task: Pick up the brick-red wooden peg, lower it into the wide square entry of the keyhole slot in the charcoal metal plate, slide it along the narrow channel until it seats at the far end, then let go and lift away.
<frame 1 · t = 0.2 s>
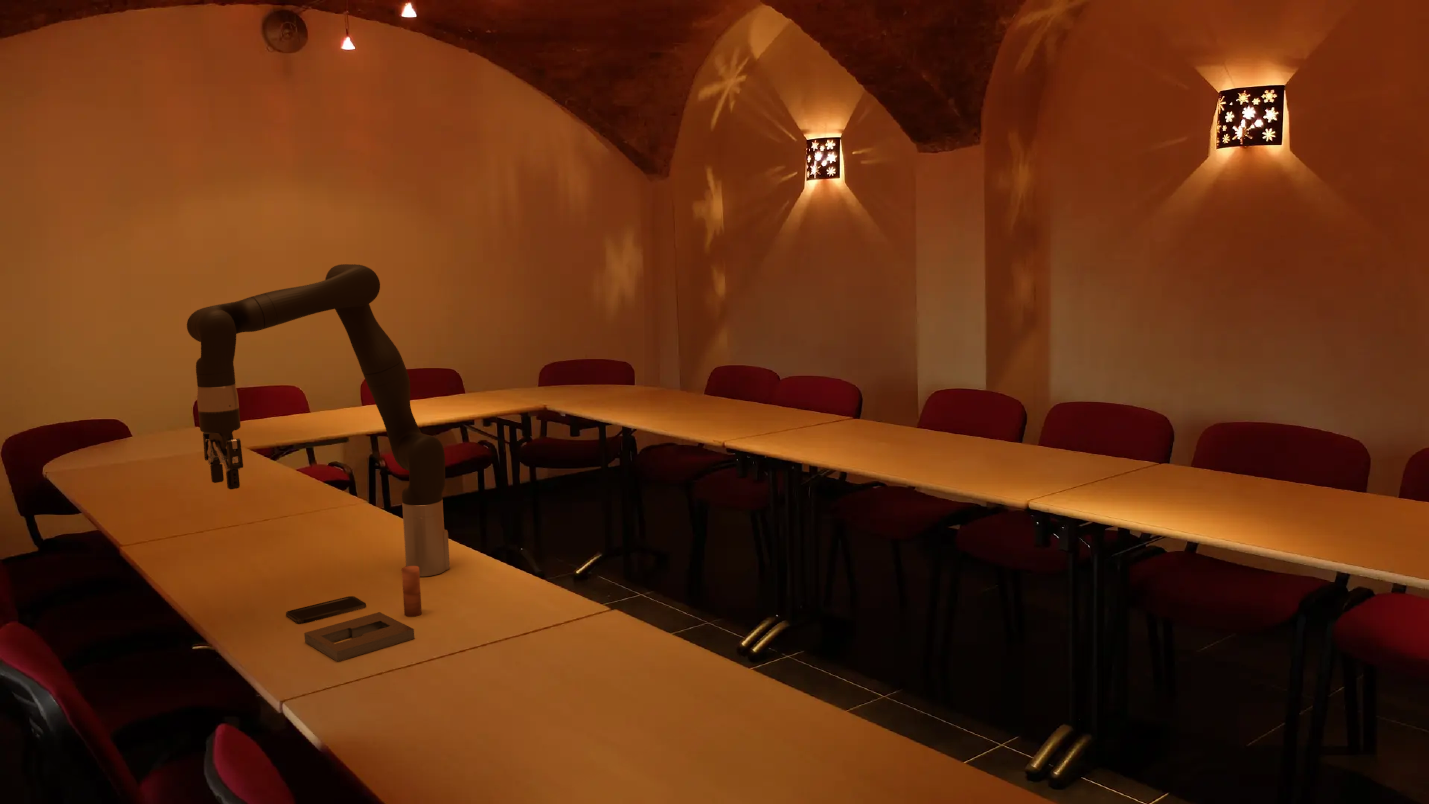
hand: (225, 485, 219), 29 cm above the table, fingers open, 8 cm apart
keyhole plate: (359, 640, 211), on the table
peg: (413, 613, 226), on the table
phone: (326, 613, 228), on the table
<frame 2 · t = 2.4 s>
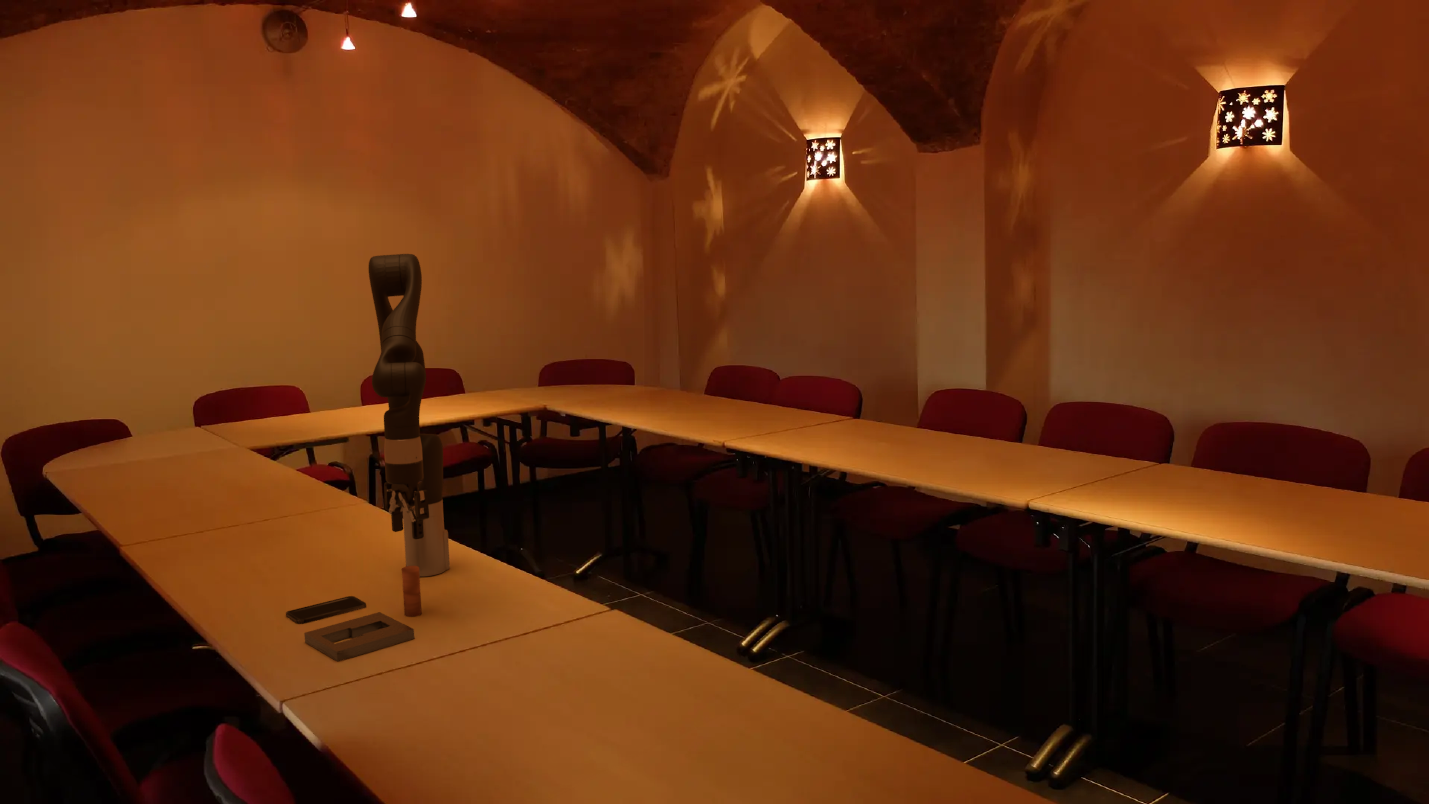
hand: (407, 534, 223), 17 cm above the table, fingers open, 8 cm apart
nothing on the table moved.
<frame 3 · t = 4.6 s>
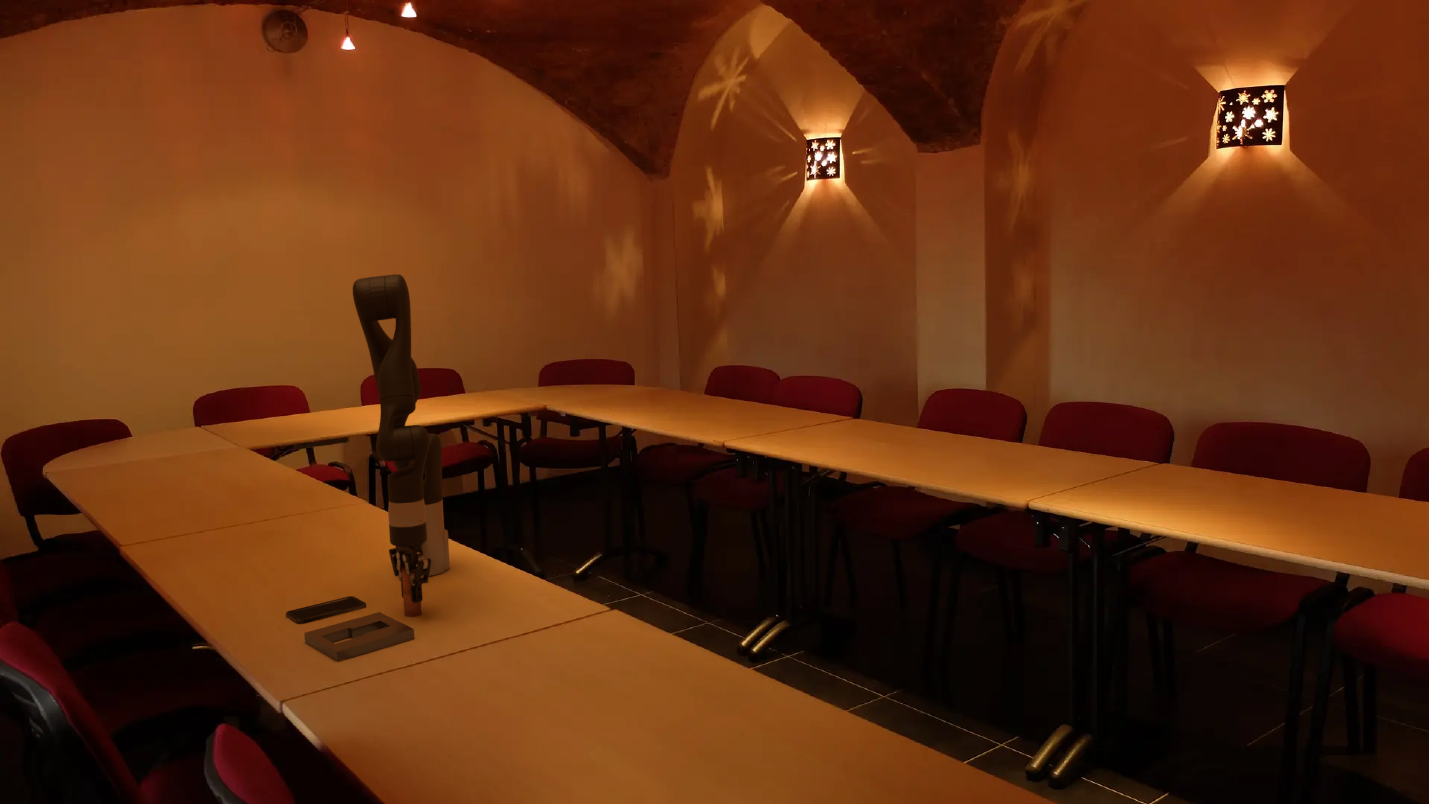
hand: (412, 599, 226), 3 cm above the table, fingers closed on peg, 3 cm apart
peg: (413, 613, 226), on the table, touching gripper
everything else where it was.
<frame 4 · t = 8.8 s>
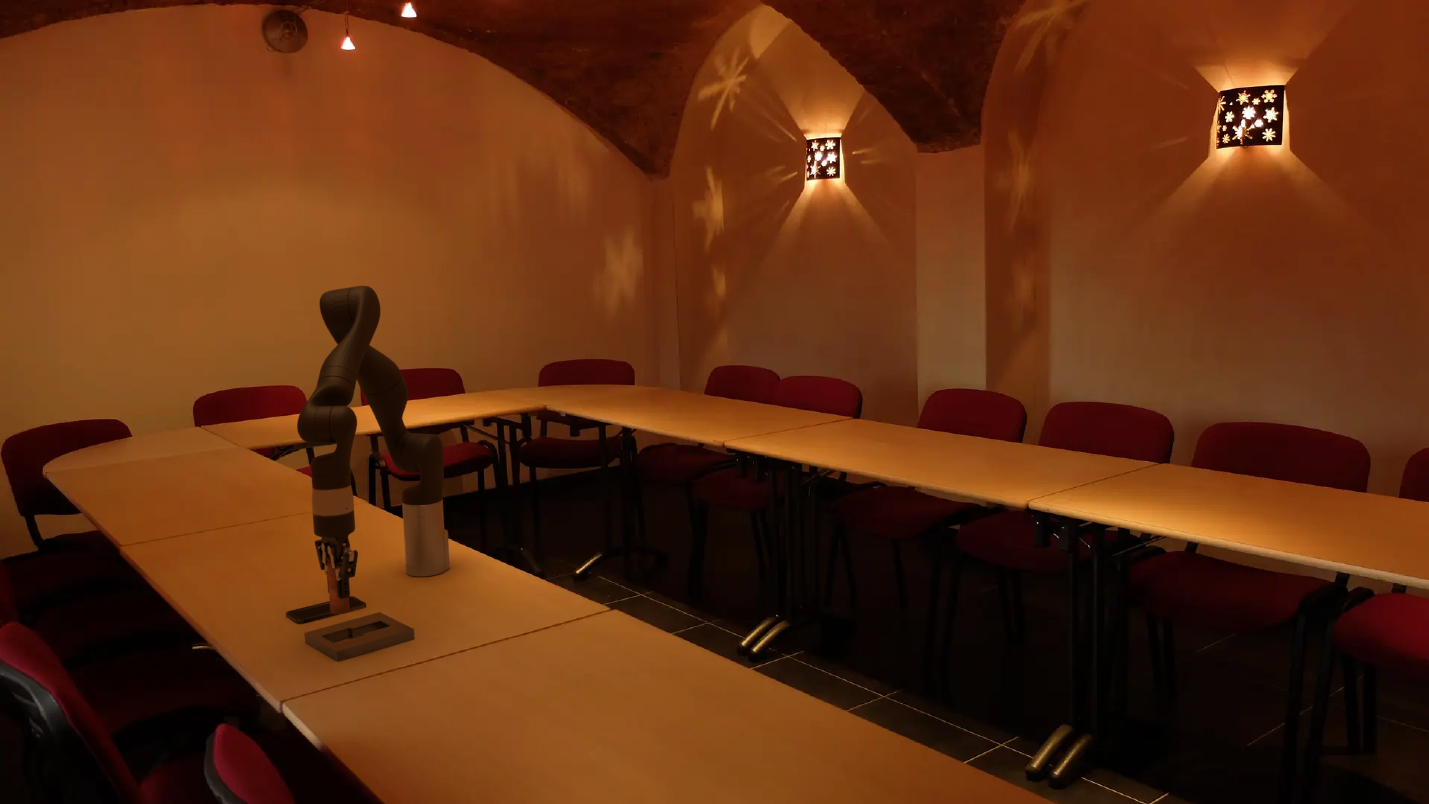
hand: (339, 595, 207), 10 cm above the table, fingers closed on peg, 3 cm apart
peg: (340, 610, 208), point 7 cm above the table, touching gripper
everything else where it was.
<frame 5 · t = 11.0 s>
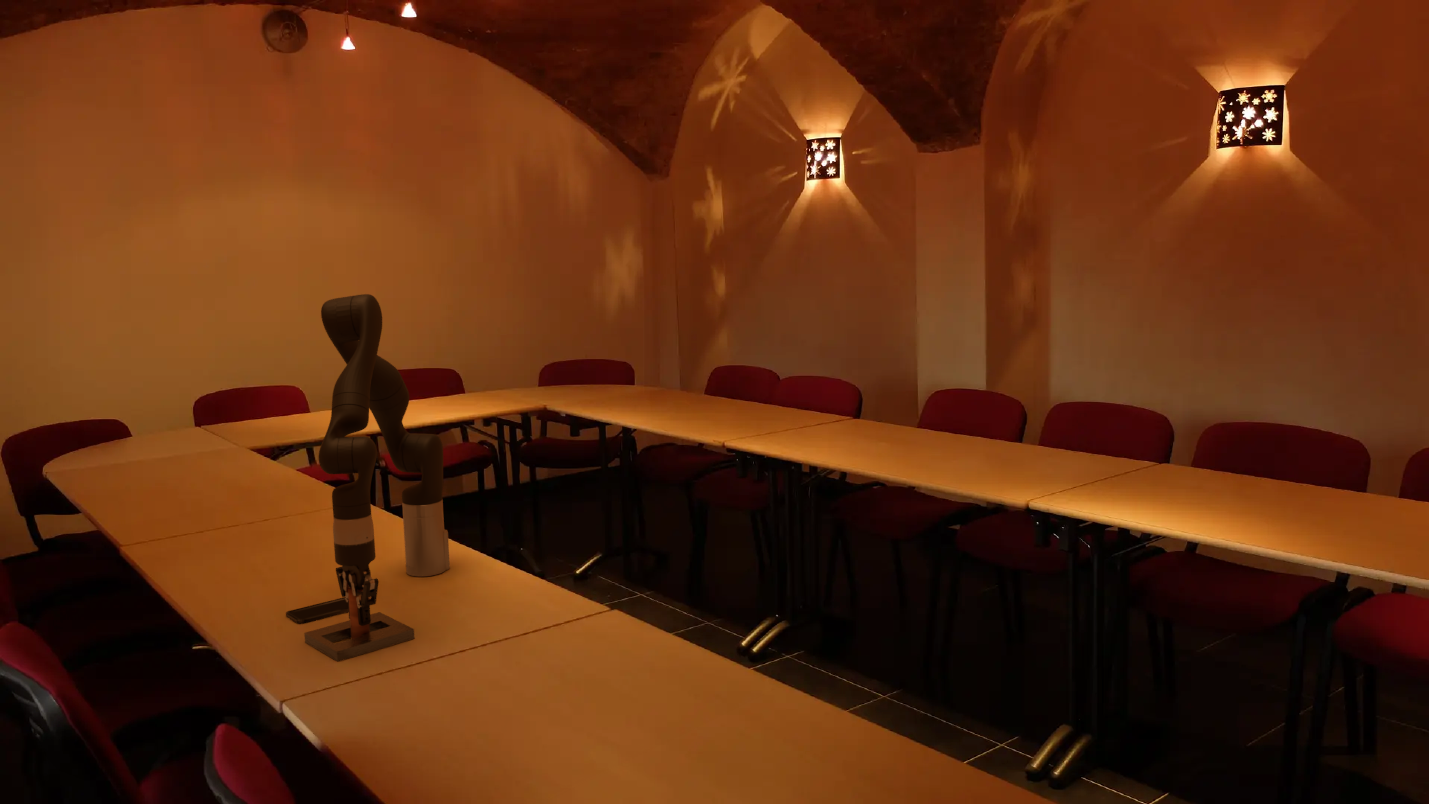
hand: (359, 621, 211), 4 cm above the table, fingers closed on peg, 3 cm apart
peg: (360, 637, 212), point 1 cm above the table, touching gripper
everything else where it was.
when the fingers open (4 cm above the table, at t = 12.9 s): peg stays where it is, resting in keyhole plate.
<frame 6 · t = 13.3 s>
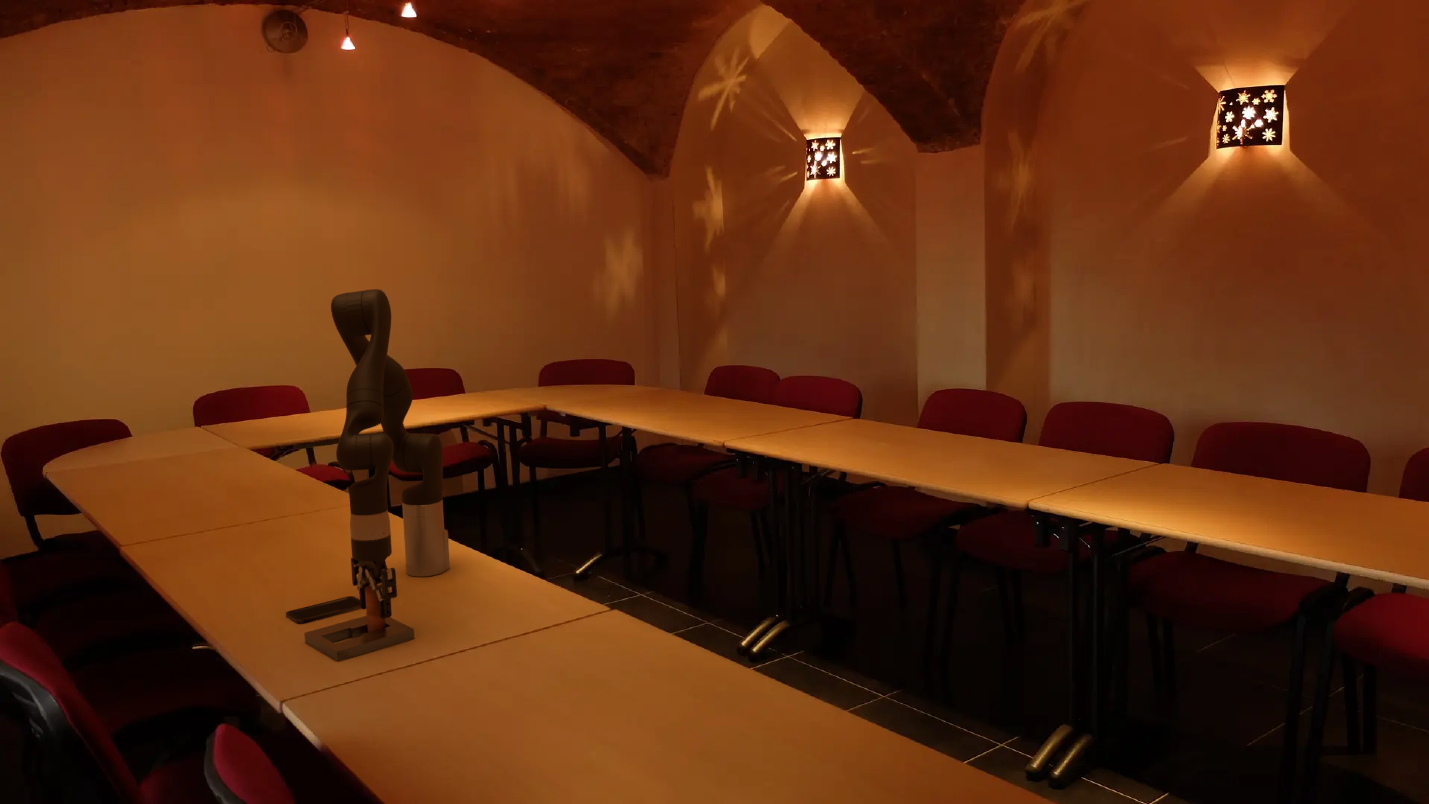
hand: (375, 612, 213), 5 cm above the table, fingers open, 7 cm apart
peg: (377, 635, 214), resting in keyhole plate
everything else where it was.
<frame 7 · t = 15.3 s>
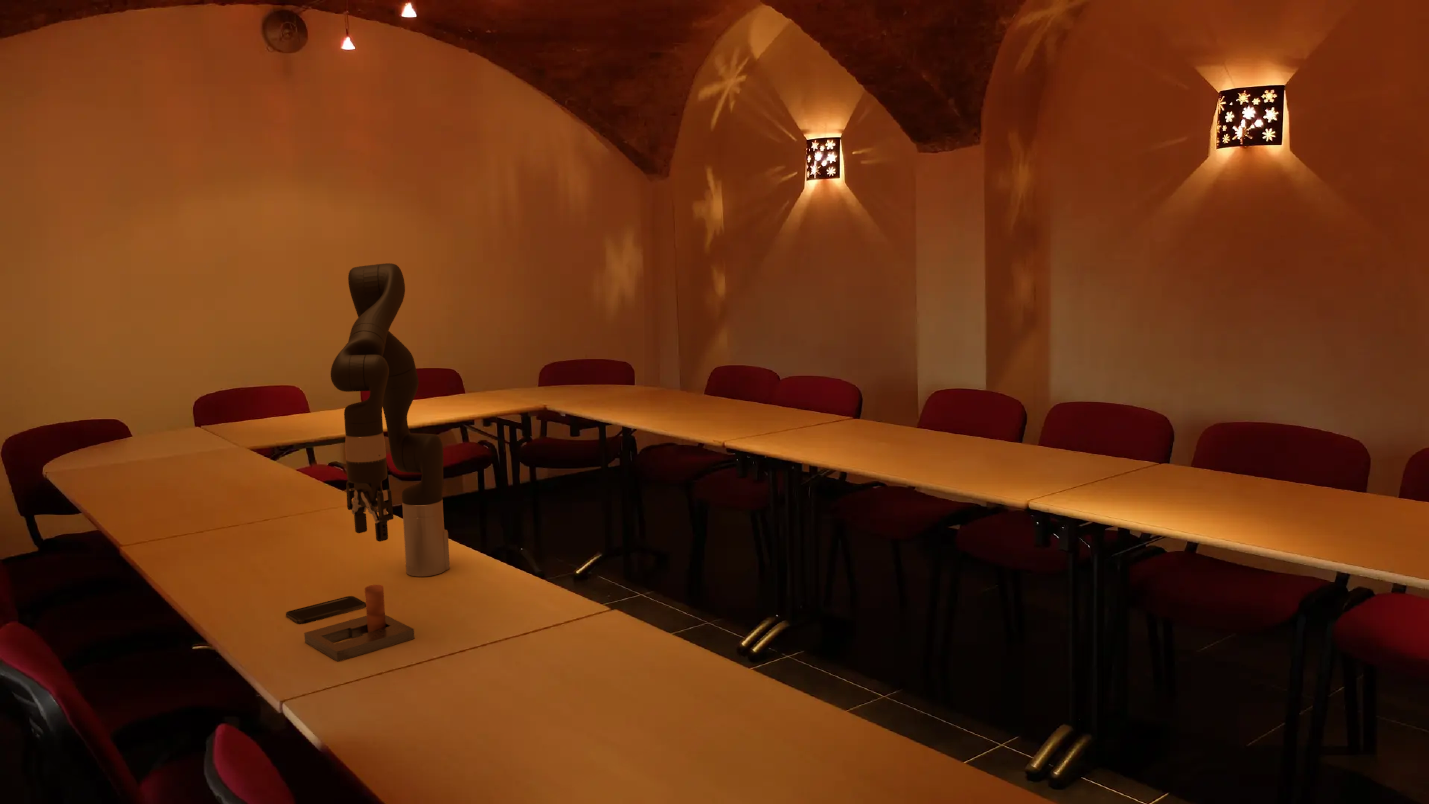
hand: (371, 536, 212), 20 cm above the table, fingers open, 8 cm apart
nothing on the table moved.
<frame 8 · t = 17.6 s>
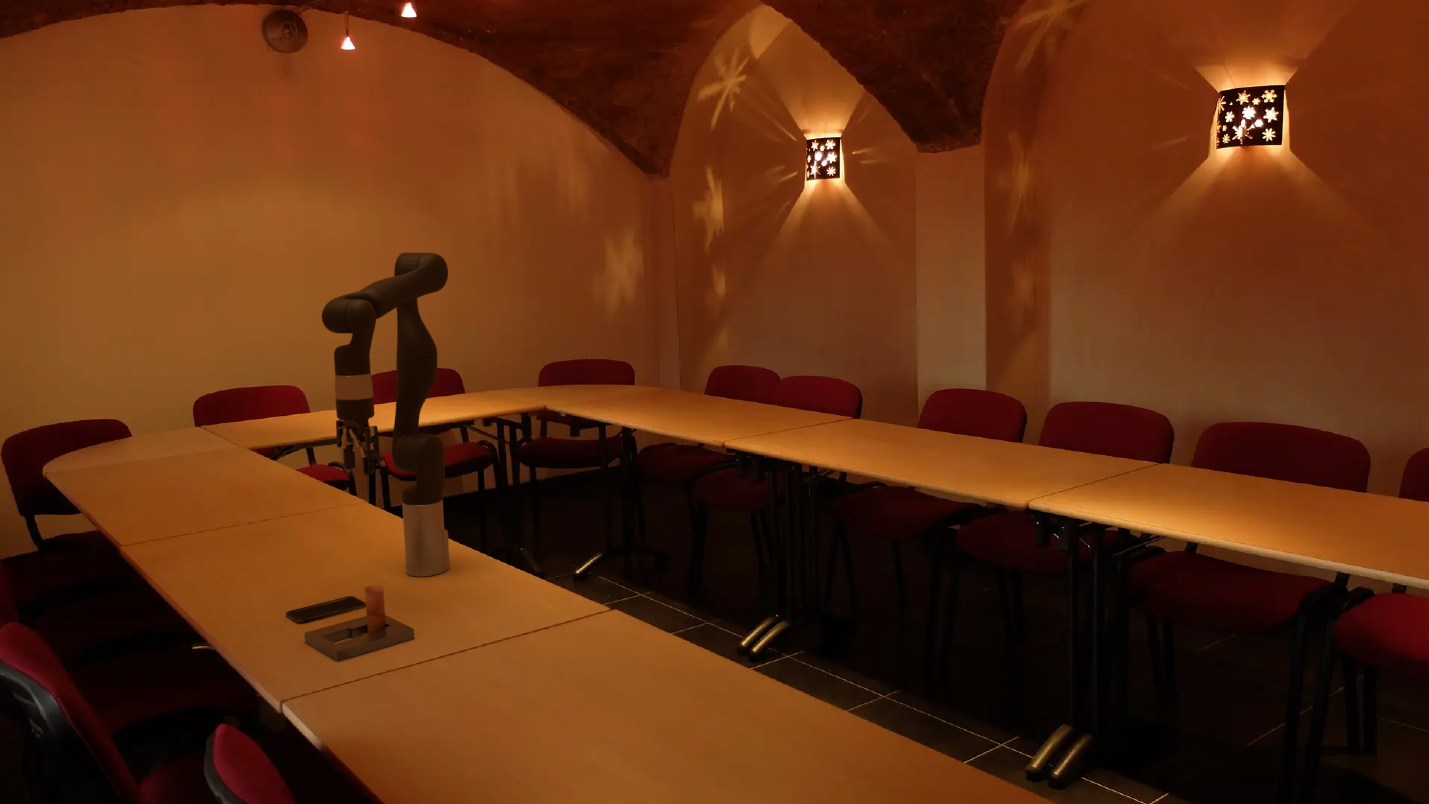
hand: (359, 471, 225), 30 cm above the table, fingers open, 8 cm apart
nothing on the table moved.
at the end: peg 0.2 cm from the target spot on the keyhole plate, point 0.0 cm above the keyhole plate's base; peg tilted 0°; the gripper is holding nothing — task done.
